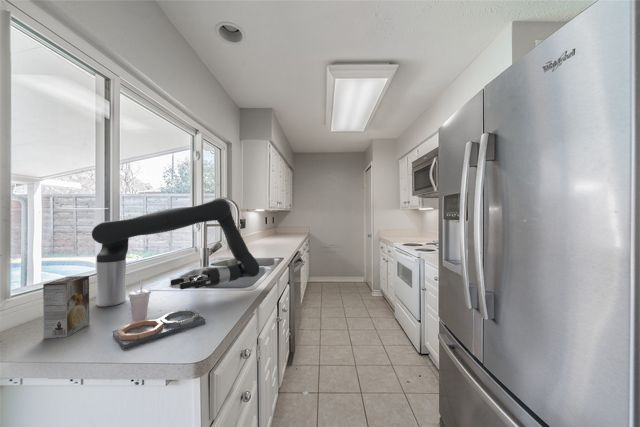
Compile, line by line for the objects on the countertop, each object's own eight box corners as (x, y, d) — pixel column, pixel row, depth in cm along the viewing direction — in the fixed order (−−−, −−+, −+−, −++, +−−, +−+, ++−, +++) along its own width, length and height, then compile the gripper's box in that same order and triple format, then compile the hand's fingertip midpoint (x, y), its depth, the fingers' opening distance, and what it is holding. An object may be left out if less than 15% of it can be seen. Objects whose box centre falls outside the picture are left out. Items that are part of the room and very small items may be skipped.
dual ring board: (112, 336, 76) (112, 331, 76) (189, 314, 93) (189, 310, 93) (124, 350, 69) (124, 344, 69) (205, 323, 86) (205, 318, 86)
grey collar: (156, 320, 84) (156, 316, 84) (189, 310, 93) (189, 307, 93) (169, 329, 78) (169, 325, 78) (203, 318, 86) (203, 314, 86)
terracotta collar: (114, 331, 76) (114, 327, 76) (154, 320, 84) (154, 316, 84) (124, 343, 69) (124, 339, 69) (167, 329, 77) (167, 325, 77)
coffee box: (67, 325, 84) (67, 276, 84) (89, 324, 85) (90, 275, 85) (42, 339, 75) (42, 283, 75) (67, 337, 76) (67, 282, 76)
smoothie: (139, 324, 85) (139, 281, 85) (123, 322, 86) (123, 280, 86) (155, 316, 91) (155, 277, 91) (140, 315, 92) (140, 276, 92)
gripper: (207, 265, 114) (167, 272, 101) (225, 269, 105) (183, 277, 92) (208, 282, 114) (168, 291, 101) (225, 287, 105) (183, 298, 92)
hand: (175, 284), depth 97 cm, fingers open, 8 cm apart
